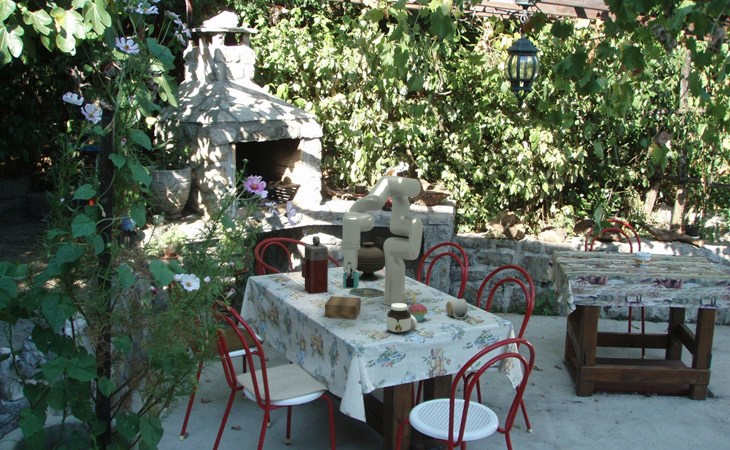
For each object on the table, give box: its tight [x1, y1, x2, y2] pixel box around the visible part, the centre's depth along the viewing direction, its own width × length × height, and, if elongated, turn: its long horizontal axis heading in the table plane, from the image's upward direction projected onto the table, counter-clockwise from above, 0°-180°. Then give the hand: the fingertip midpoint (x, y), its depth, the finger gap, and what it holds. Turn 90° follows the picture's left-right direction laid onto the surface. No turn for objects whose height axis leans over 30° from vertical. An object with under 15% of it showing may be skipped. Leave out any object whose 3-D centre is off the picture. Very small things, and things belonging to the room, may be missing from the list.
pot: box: [356, 241, 385, 282], centre depth 415 cm, size 18×18×20 cm
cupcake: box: [407, 295, 428, 322], centre depth 345 cm, size 9×8×12 cm
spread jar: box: [386, 303, 419, 335], centre depth 329 cm, size 12×11×12 cm
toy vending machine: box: [301, 235, 329, 295], centre depth 388 cm, size 9×11×28 cm
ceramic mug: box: [445, 298, 469, 320], centre depth 351 cm, size 11×8×8 cm
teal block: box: [342, 270, 360, 290], centre depth 336 cm, size 6×6×6 cm
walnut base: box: [324, 295, 362, 320], centre depth 353 cm, size 14×14×6 cm
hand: (351, 284), depth 336 cm, fingers closed on teal block, 6 cm apart
